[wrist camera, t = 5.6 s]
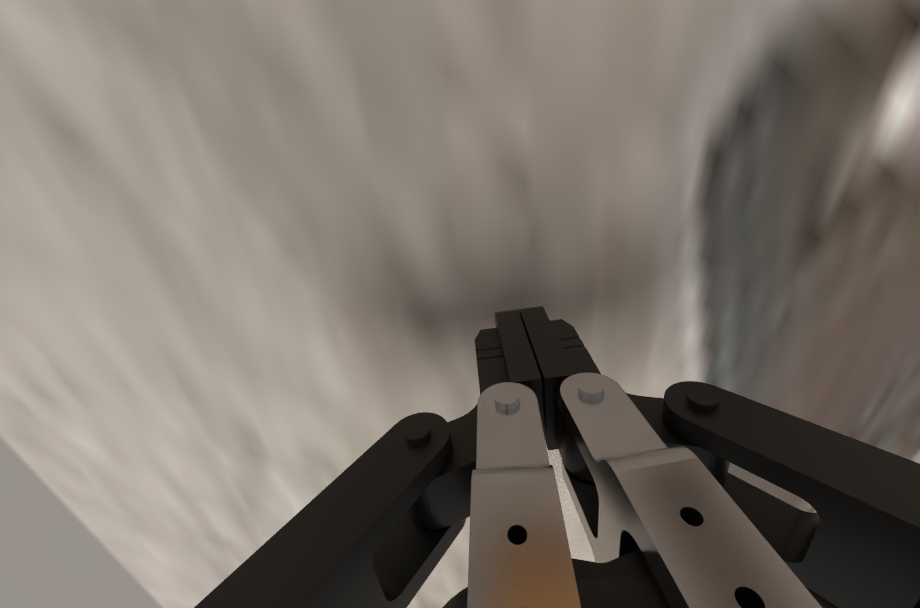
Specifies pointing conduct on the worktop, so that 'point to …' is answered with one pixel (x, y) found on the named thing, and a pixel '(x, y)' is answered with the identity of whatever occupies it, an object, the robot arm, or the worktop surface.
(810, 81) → the worktop surface
